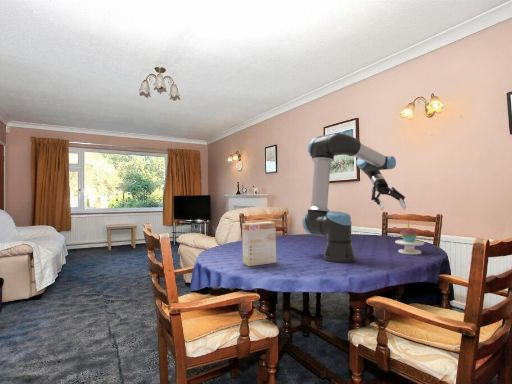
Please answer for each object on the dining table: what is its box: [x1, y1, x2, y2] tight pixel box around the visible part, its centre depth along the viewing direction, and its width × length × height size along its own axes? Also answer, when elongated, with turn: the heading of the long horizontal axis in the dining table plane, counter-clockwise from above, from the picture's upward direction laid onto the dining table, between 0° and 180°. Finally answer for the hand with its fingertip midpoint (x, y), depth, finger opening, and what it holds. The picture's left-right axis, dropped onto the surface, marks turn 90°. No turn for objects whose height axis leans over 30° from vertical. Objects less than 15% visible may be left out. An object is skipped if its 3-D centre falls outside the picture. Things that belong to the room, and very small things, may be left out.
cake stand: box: [395, 239, 425, 256], centre depth 164 cm, size 14×14×6 cm
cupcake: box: [399, 220, 419, 242], centre depth 164 cm, size 9×8×12 cm
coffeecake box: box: [241, 220, 277, 267], centre depth 144 cm, size 15×7×20 cm, turn 115°
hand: (393, 208), depth 170 cm, fingers open, 13 cm apart
